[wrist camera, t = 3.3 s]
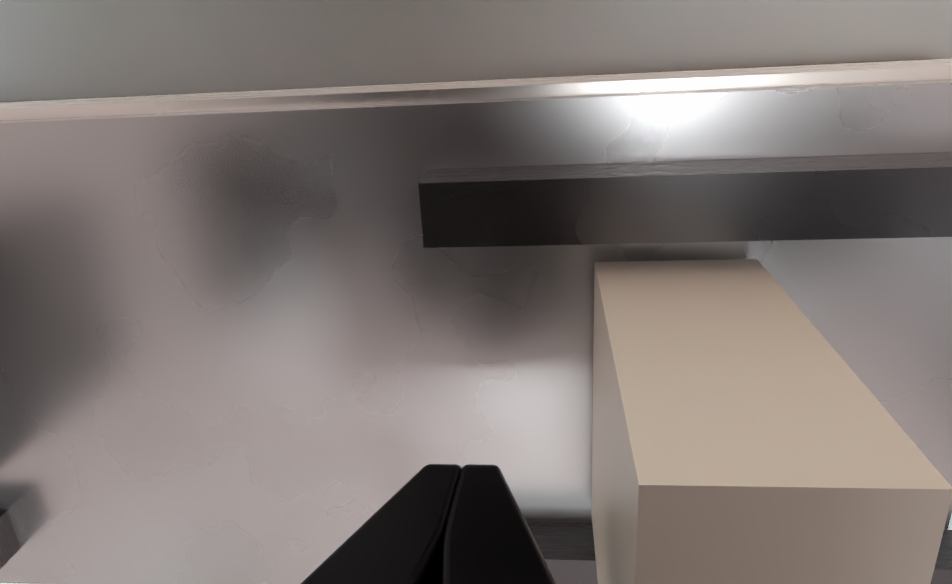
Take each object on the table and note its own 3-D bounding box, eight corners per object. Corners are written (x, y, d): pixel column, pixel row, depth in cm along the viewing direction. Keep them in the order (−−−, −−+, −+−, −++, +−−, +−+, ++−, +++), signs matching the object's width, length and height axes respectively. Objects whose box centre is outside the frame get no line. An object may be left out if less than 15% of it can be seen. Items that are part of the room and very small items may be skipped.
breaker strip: (987, 52, 10) (1151, 67, 7) (888, 524, 13) (976, 657, 10) (-195, 107, 11) (-408, 136, 9) (-35, 506, 15) (-159, 614, 12)
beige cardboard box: (757, 259, 9) (952, 489, 4) (730, 517, 10) (859, 871, 6) (594, 262, 9) (638, 484, 5) (591, 514, 10) (622, 854, 6)
